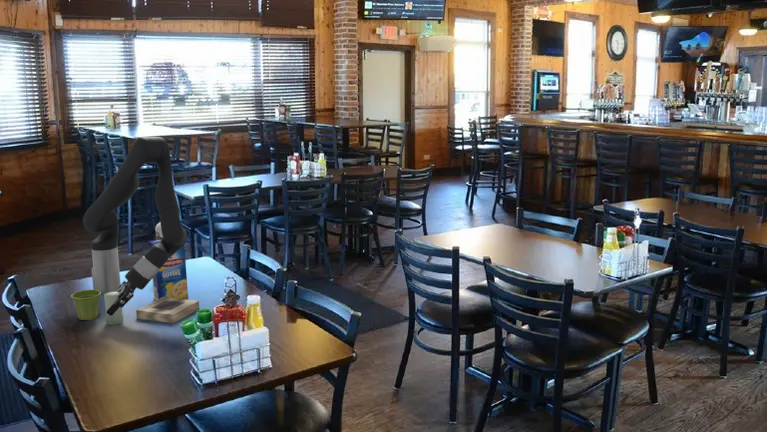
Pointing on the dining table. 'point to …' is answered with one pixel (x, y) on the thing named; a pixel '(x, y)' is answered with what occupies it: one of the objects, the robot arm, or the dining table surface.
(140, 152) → the robot arm
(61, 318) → the dining table surface
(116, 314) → the sage post
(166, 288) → the beverage box
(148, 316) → the birch base
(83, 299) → the plant pot
